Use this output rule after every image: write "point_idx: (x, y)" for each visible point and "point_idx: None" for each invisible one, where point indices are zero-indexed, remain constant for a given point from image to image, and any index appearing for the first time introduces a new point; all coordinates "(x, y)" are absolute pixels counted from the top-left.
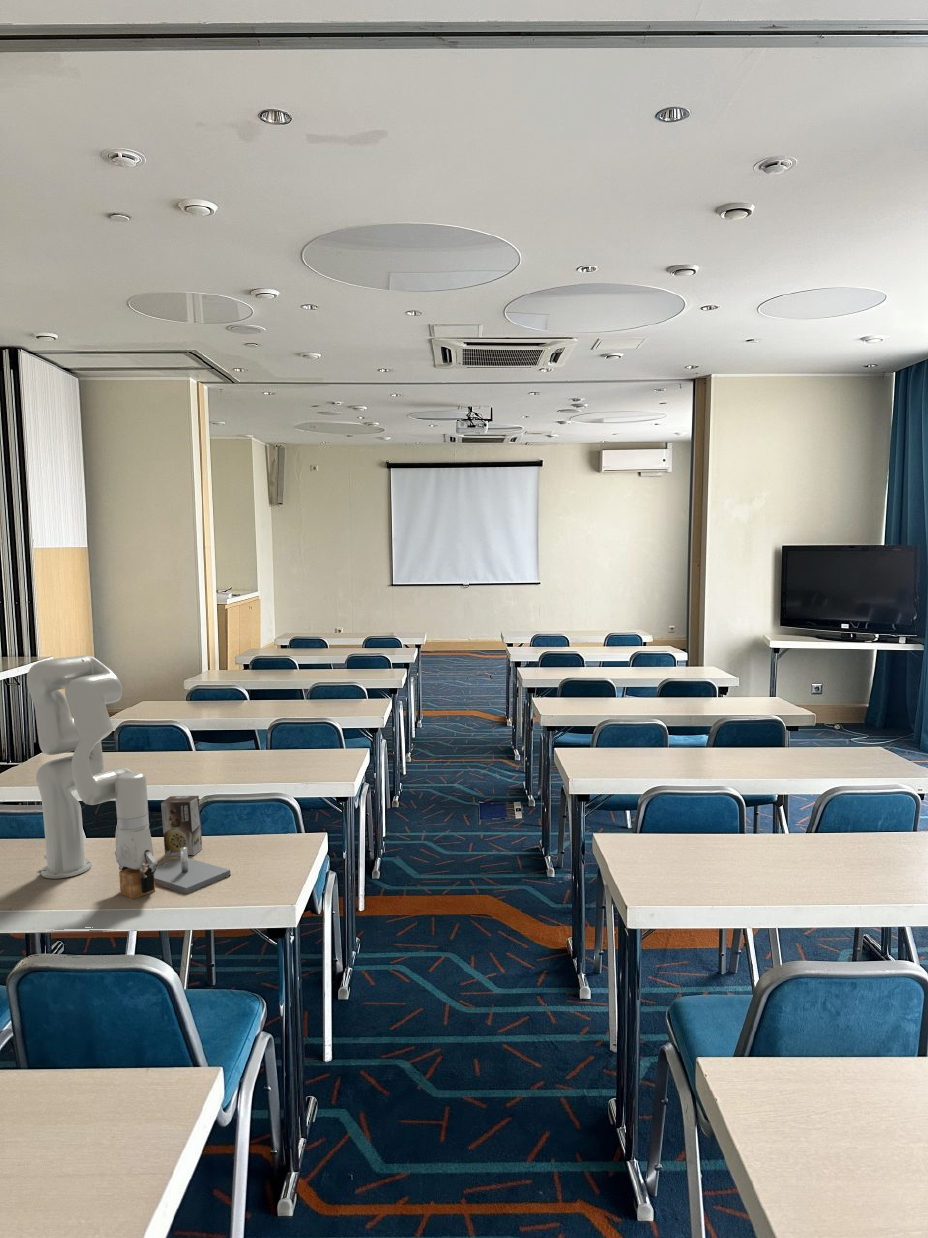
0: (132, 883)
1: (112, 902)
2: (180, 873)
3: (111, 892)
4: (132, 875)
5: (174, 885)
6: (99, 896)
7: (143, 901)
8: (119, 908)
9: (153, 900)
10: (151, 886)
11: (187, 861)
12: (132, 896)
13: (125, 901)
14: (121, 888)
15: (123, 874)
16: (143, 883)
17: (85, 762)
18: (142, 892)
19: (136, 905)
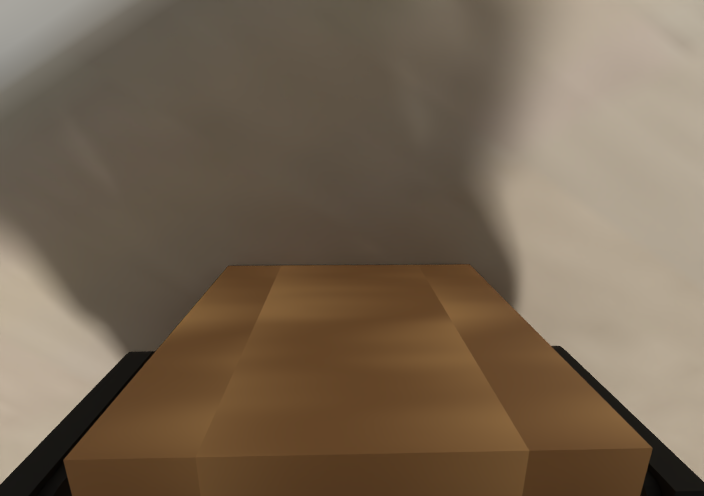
0: (178, 352)
1: (363, 93)
2: None
3: (606, 247)
4: (113, 477)
5: None
6: (647, 117)
7: (100, 282)
8: (126, 28)
9: (43, 343)
10: None
11: None
12: (255, 273)
13: (260, 186)
14: (469, 290)
15: (460, 427)
16: (55, 440)
17: None
18: (150, 352)
19: (54, 185)
